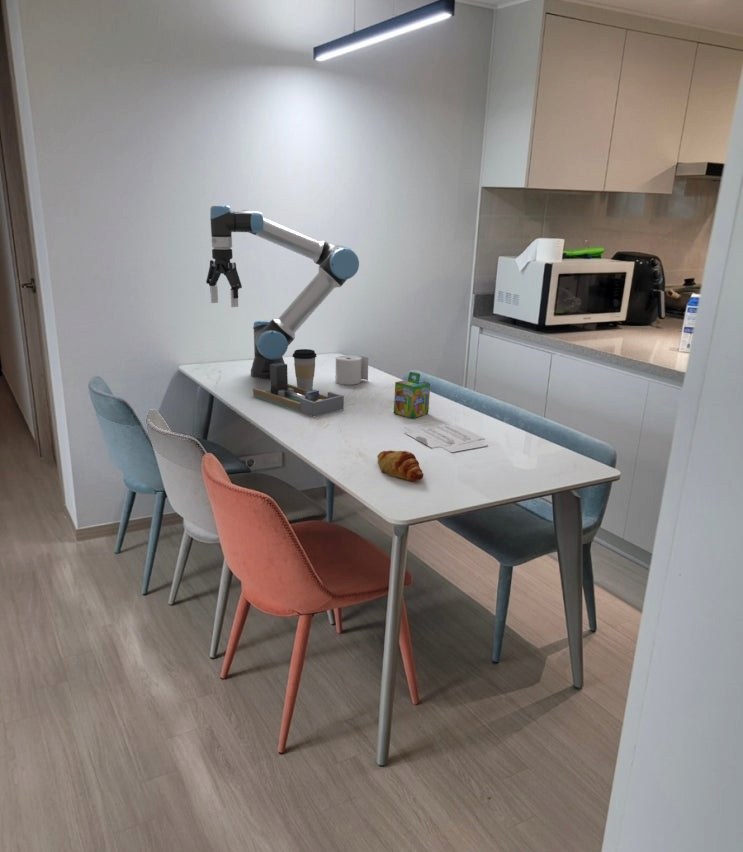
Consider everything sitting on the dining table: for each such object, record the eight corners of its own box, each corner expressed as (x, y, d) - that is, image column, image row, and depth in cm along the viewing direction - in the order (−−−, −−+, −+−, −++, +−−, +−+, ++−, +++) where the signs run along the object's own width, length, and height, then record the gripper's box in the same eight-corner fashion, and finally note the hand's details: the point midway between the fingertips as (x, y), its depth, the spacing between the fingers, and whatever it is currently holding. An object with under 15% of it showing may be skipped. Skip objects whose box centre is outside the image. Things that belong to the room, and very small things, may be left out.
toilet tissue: (330, 381, 293) (330, 357, 290) (351, 376, 300) (352, 353, 297) (347, 386, 285) (347, 362, 282) (369, 381, 293) (369, 358, 290)
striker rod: (281, 390, 271) (280, 362, 268) (319, 403, 256) (319, 373, 253) (270, 393, 268) (269, 364, 264) (308, 405, 253) (308, 375, 250)
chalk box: (392, 413, 251) (394, 372, 246) (409, 408, 257) (411, 368, 252) (413, 419, 245) (414, 377, 240) (429, 414, 251) (431, 373, 246)
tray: (445, 422, 245) (446, 412, 243) (496, 449, 222) (497, 438, 220) (394, 430, 235) (395, 419, 234) (442, 460, 212) (443, 448, 211)
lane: (282, 389, 278) (282, 381, 277) (330, 405, 259) (330, 395, 258) (253, 396, 268) (252, 387, 267) (301, 412, 250) (300, 402, 249)
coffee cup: (318, 386, 285) (318, 349, 280) (314, 392, 276) (314, 354, 271) (295, 384, 285) (294, 348, 281) (290, 391, 277) (290, 353, 272)
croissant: (370, 473, 206) (360, 452, 202) (396, 452, 209) (386, 431, 205) (413, 497, 189) (402, 475, 185) (440, 474, 192) (430, 452, 188)
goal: (329, 404, 260) (329, 391, 258) (343, 409, 255) (343, 395, 253) (300, 412, 250) (299, 398, 248) (314, 416, 245) (313, 402, 243)
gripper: (195, 246, 274) (198, 301, 280) (232, 250, 257) (235, 309, 264) (212, 245, 279) (214, 300, 285) (249, 250, 262) (251, 307, 269)
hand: (224, 304), depth 274 cm, fingers open, 13 cm apart
